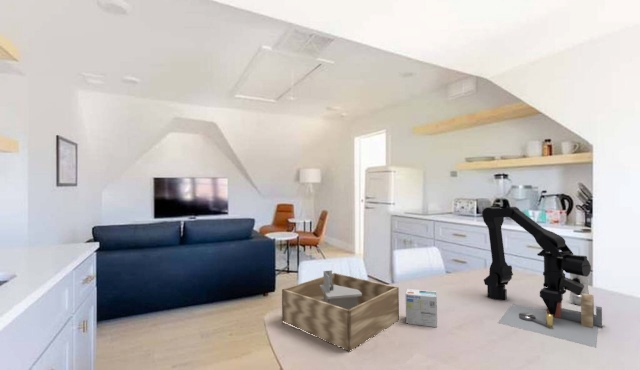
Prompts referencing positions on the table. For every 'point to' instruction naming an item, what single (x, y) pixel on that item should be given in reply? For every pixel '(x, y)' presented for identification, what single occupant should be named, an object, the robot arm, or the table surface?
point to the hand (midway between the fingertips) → (554, 312)
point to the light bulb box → (421, 307)
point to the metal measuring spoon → (532, 318)
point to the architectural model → (338, 293)
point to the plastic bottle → (577, 298)
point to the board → (560, 326)
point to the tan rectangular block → (587, 310)
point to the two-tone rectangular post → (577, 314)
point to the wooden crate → (341, 310)
